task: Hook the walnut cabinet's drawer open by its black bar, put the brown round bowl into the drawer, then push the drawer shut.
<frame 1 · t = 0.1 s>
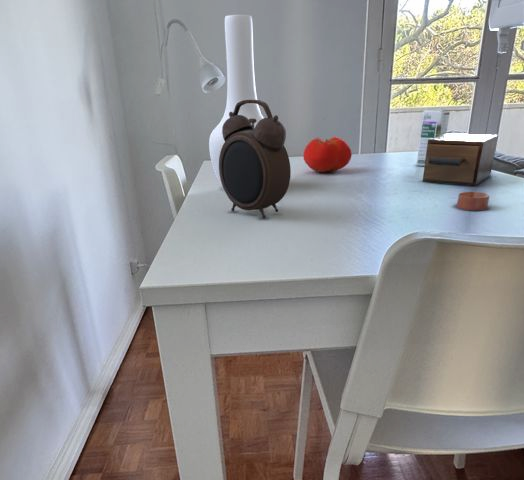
hand: (513, 51, 103), 27 cm above the table, tool pointing down, fingers open, 8 cm apart
cabinet: (456, 178, 119), on the table
vase: (245, 187, 117), on the table
brown round bowl: (471, 207, 93), on the table
syrup box: (428, 165, 138), on the table
tomato: (324, 172, 133), on the table
alarm clock: (254, 214, 93), on the table
drawer: (454, 161, 113), point 5 cm above the table, slide at 0.5 cm
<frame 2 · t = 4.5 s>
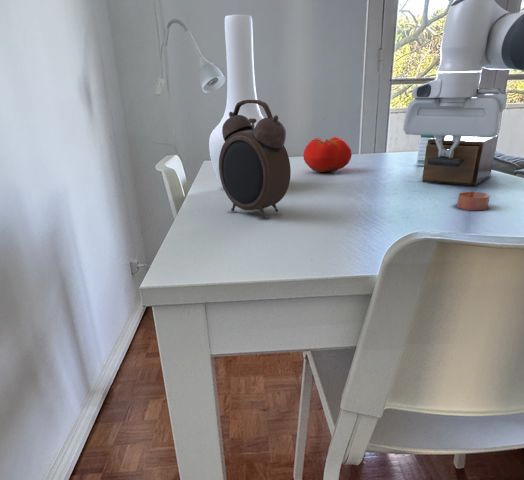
hand: (445, 157, 107), 6 cm above the table, tool pointing down, fingers closed, pressing on drawer
drawer: (453, 161, 113), point 5 cm above the table, slide at 1.2 cm, touching gripper
everything else where it was.
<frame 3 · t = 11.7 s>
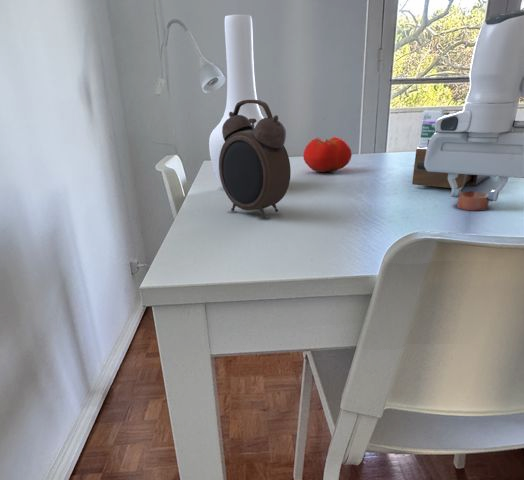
hand: (473, 198, 92), 2 cm above the table, tool pointing down, fingers closed on brown round bowl, 5 cm apart
brown round bowl: (471, 207, 93), on the table, touching gripper
drawer: (445, 165, 108), point 5 cm above the table, slide at 8.2 cm
everything else where it was.
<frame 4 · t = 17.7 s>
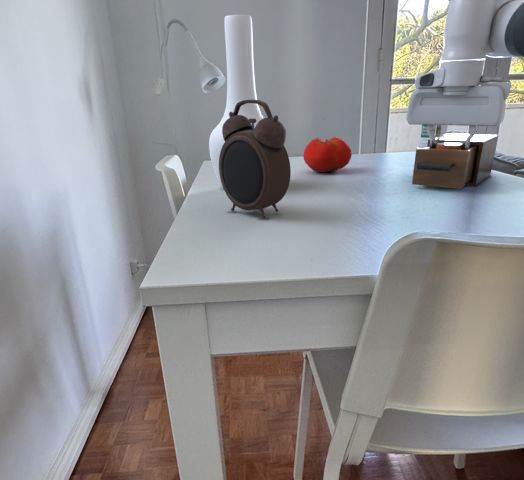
hand: (448, 147, 106), 9 cm above the table, tool pointing down, fingers closed on brown round bowl, 5 cm apart
brown round bowl: (447, 155, 107), point 7 cm above the table, touching gripper
everything else where it was.
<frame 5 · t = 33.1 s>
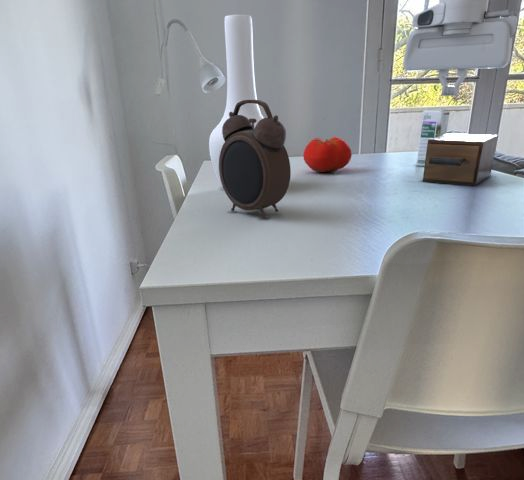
hand: (449, 95, 97), 19 cm above the table, tool pointing down, fingers closed
brown round bowl: (455, 172, 116), point 2 cm above the table, touching drawer
drawer: (455, 160, 113), point 5 cm above the table, slide at 0.0 cm, touching brown round bowl
everything else where it was.
at the end: brown round bowl inside the target area in the cabinet (2.9 cm from its centre), point 2.0 cm above the cabinet's base; drawer slide at 0.0 cm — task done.
